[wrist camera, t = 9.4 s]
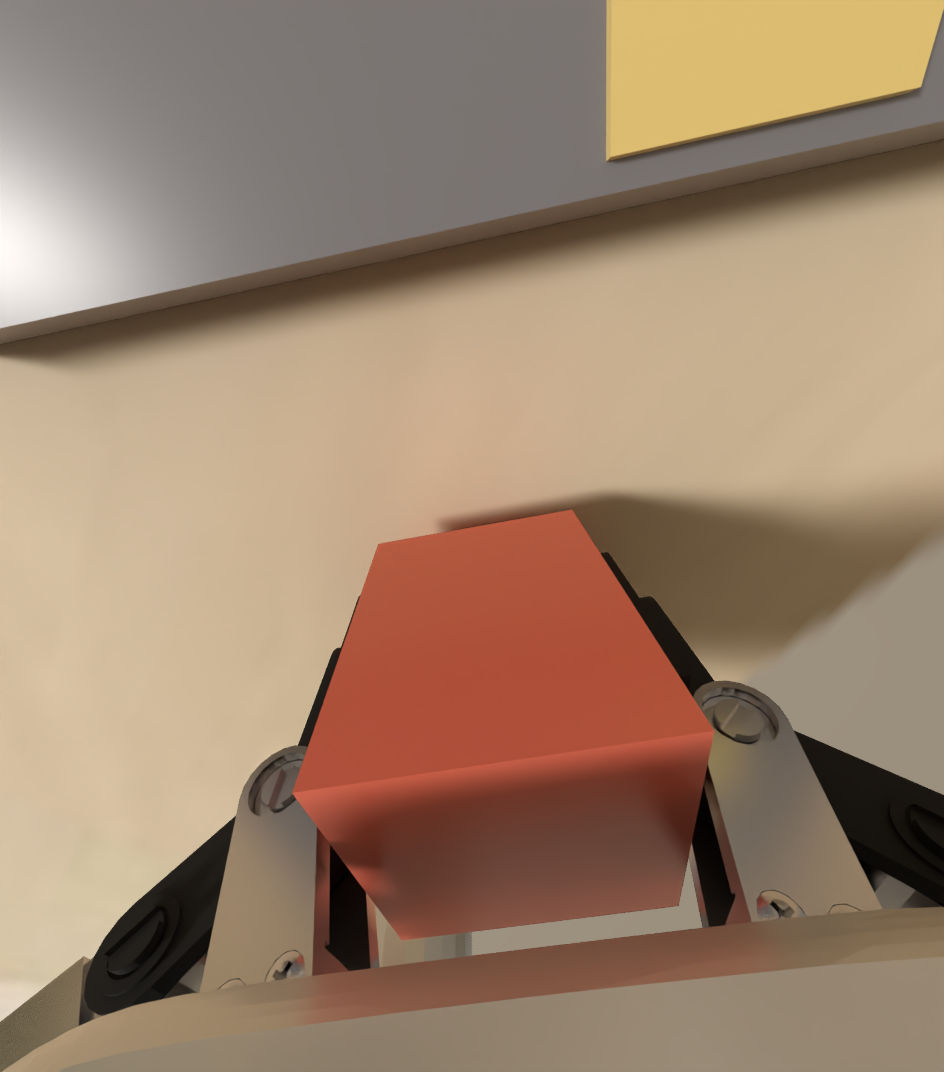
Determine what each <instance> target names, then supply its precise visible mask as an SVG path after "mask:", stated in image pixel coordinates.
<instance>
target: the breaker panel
mask: <svg viewBox="0 0 944 1072" xmlns="http://www.w3.org/2000/svg"><path fill="white" fill-rule="evenodd" d="M943 139H944V0H0V344H4V343H8V342H13V341H18V340H22V339H27V338H31V337H36V336H41V335H45V334H50V333H54V332H59V331H64V330H68V329H73V328H77V327H82V326H87V325H91V324H96V323H100V322H105V321H110V320H114V319H119V318H123V317H128V316H133V315H137V314H142V313H146V312H151V311H156V310H160V309H165V308H169V307H174V306H179V305H183V304H188V303H192V302H197V301H202V300H206V299H211V298H216V297H220V296H225V295H229V294H234V293H239V292H243V291H248V290H252V289H257V288H262V287H266V286H271V285H275V284H280V283H285V282H289V281H294V280H298V279H303V278H308V277H312V276H317V275H321V274H326V273H331V272H335V271H340V270H344V269H349V268H354V267H358V266H363V265H367V264H372V263H377V262H381V261H386V260H390V259H395V258H400V257H404V256H409V255H413V254H418V253H423V252H427V251H432V250H436V249H441V248H446V247H450V246H455V245H459V244H464V243H469V242H473V241H478V240H482V239H487V238H492V237H496V236H501V235H505V234H510V233H515V232H519V231H524V230H528V229H533V228H538V227H542V226H547V225H551V224H556V223H561V222H565V221H570V220H574V219H579V218H584V217H588V216H593V215H597V214H602V213H607V212H611V211H616V210H620V209H625V208H630V207H634V206H639V205H643V204H648V203H653V202H657V201H662V200H667V199H671V198H676V197H680V196H685V195H690V194H694V193H699V192H703V191H708V190H713V189H717V188H722V187H726V186H731V185H736V184H740V183H745V182H749V181H754V180H759V179H763V178H768V177H772V176H777V175H782V174H786V173H791V172H795V171H800V170H805V169H809V168H814V167H818V166H823V165H828V164H832V163H837V162H841V161H846V160H851V159H855V158H860V157H864V156H869V155H874V154H878V153H883V152H887V151H892V150H897V149H901V148H906V147H910V146H915V145H920V144H924V143H929V142H933V141H938V140H943Z"/></svg>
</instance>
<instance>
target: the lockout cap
mask: <svg viewBox="0 0 944 1072" xmlns="http://www.w3.org/2000/svg"><path fill="white" fill-rule="evenodd" d="M713 736H714V729H713V728H712V726H711V725H710V723H709V722H708V720H707V718H706V717H705V715H704V714H703V712H702V711H701V709H700V708H699V706H698V704H697V703H696V701H695V700H694V698H693V697H692V695H691V694H690V692H689V690H688V689H687V687H686V686H685V684H684V683H683V681H682V680H681V678H680V677H679V675H678V673H677V672H676V670H675V669H674V667H673V666H672V664H671V663H670V661H669V659H668V658H667V656H666V655H665V653H664V652H663V650H662V649H661V647H660V645H659V644H658V642H657V641H656V639H655V638H654V636H653V635H652V633H651V631H650V630H649V628H648V627H647V625H646V624H645V622H644V621H643V619H642V617H641V616H640V614H639V613H638V611H637V610H636V608H635V607H634V605H633V603H632V602H631V600H630V599H629V597H628V596H627V594H626V593H625V591H624V589H623V588H622V586H621V585H620V583H619V582H618V580H617V579H616V577H615V575H614V574H613V572H612V571H611V569H610V568H609V566H608V565H607V563H606V561H605V560H604V558H603V557H602V555H601V554H600V552H599V551H598V549H597V547H596V546H595V544H594V543H593V541H592V540H591V538H590V537H589V535H588V533H587V532H586V530H585V529H584V527H583V526H582V524H581V523H580V521H579V519H578V518H577V516H576V515H575V513H574V512H573V510H566V511H561V512H555V513H550V514H544V515H538V516H533V517H527V518H522V519H516V520H510V521H505V522H499V523H493V524H488V525H482V526H477V527H471V528H465V529H460V530H454V531H449V532H443V533H437V534H432V535H426V536H420V537H415V538H409V539H404V540H398V541H392V542H387V543H381V544H378V547H377V549H376V552H375V555H374V558H373V561H372V564H371V567H370V570H369V572H368V575H367V578H366V581H365V584H364V587H363V590H362V593H361V596H360V598H359V601H358V604H357V607H356V610H355V613H354V616H353V619H352V621H351V624H350V627H349V630H348V633H347V636H346V639H345V642H344V645H343V647H342V650H341V653H340V656H339V659H338V662H337V665H336V668H335V670H334V673H333V676H332V679H331V682H330V685H329V688H328V691H327V694H326V696H325V699H324V702H323V705H322V708H321V711H320V714H319V717H318V720H317V722H316V725H315V728H314V731H313V734H312V737H311V740H310V743H309V745H308V748H307V751H306V754H305V757H304V760H303V763H302V766H301V769H300V771H299V774H298V777H297V780H296V783H295V786H294V789H293V792H292V794H293V795H294V796H295V798H296V799H297V800H298V802H299V803H300V804H301V806H302V807H303V808H304V810H305V811H306V812H307V814H308V815H309V816H310V818H311V819H312V820H313V822H314V823H315V825H316V826H317V827H318V829H319V830H320V831H321V833H322V834H323V835H324V837H325V838H326V839H327V841H328V842H329V843H330V845H331V846H332V847H333V849H334V850H335V851H336V853H337V854H338V855H339V857H340V858H341V859H342V861H343V862H344V863H345V865H346V866H347V868H348V869H349V870H350V872H351V873H352V874H353V876H354V877H355V878H356V880H357V881H358V882H359V884H360V885H361V886H362V888H363V889H364V890H365V892H366V893H367V894H368V896H369V897H370V898H371V900H372V901H373V902H374V904H375V905H376V906H377V908H378V909H379V910H380V912H381V913H382V915H383V916H384V917H385V919H386V920H387V921H388V923H389V924H390V925H391V927H392V928H393V929H394V931H395V932H396V933H397V935H398V936H399V937H400V939H401V940H410V939H418V938H426V937H434V936H442V935H450V934H458V933H466V932H474V931H481V930H490V929H498V928H506V927H513V926H522V925H529V924H537V923H546V922H554V921H562V920H569V919H578V918H586V917H593V916H602V915H610V914H617V913H625V912H633V911H642V910H649V909H657V908H665V907H673V906H679V901H680V896H681V891H682V886H683V882H684V876H685V872H686V867H687V862H688V857H689V853H690V848H691V843H692V838H693V833H694V828H695V823H696V818H697V814H698V809H699V804H700V799H701V794H702V789H703V784H704V780H705V775H706V770H707V765H708V760H709V755H710V750H711V745H712V741H713Z"/></svg>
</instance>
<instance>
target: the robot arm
mask: <svg viewBox="0 0 944 1072" xmlns="http://www.w3.org/2000/svg"><path fill="white" fill-rule="evenodd" d="M600 554H601V555H602V557H603V558H604V560H605V561H606V563H607V565H608V566H609V568H610V569H611V571H612V572H613V574H614V575H615V577H616V579H617V580H618V582H619V583H620V585H621V586H622V588H623V589H624V591H625V593H626V594H627V596H628V597H629V599H630V600H631V602H632V603H633V605H634V607H635V608H636V610H637V611H638V613H639V614H640V616H641V617H642V619H643V621H644V622H645V624H646V625H647V627H648V628H649V630H650V631H651V633H652V635H653V636H654V638H655V639H656V641H657V642H658V644H659V645H660V647H661V649H662V650H663V652H664V653H665V655H666V656H667V658H668V659H669V661H670V663H671V664H672V666H673V667H674V669H675V670H676V672H677V673H678V675H679V677H680V678H681V680H682V681H683V683H684V684H685V686H686V687H687V689H688V690H689V692H690V694H691V695H692V697H693V698H694V700H695V701H696V703H697V704H698V706H699V708H700V709H701V711H702V712H703V714H704V715H705V717H706V718H707V720H708V722H709V723H710V725H711V726H712V728H713V729H714V736H713V741H712V745H711V750H710V755H709V760H708V765H707V770H706V775H705V780H704V784H703V789H702V794H701V799H700V804H699V809H698V814H697V818H696V823H695V828H694V833H693V838H692V843H691V848H690V853H689V861H690V866H691V871H692V876H693V881H694V886H695V891H696V896H697V901H698V906H699V912H700V917H701V922H702V927H703V928H698V929H689V930H682V931H672V932H664V933H655V934H647V935H639V936H630V937H621V938H613V939H605V940H597V941H588V942H580V943H572V944H564V945H555V946H547V947H539V948H531V949H523V950H515V951H507V952H499V953H490V954H482V955H474V956H472V935H471V932H466V933H458V934H450V935H442V936H434V937H426V938H418V939H410V940H401V939H400V937H399V936H398V935H397V933H396V932H395V931H394V929H393V928H392V927H391V925H390V924H389V923H388V921H387V920H386V919H385V917H384V916H383V915H382V913H381V912H380V910H379V909H378V908H377V906H376V905H375V904H374V902H373V901H372V900H371V898H370V897H369V896H368V894H367V893H366V892H365V890H364V889H363V888H362V886H361V885H360V884H359V882H358V881H357V880H356V878H355V877H354V876H353V874H352V873H351V872H350V870H349V869H348V868H347V866H346V865H345V863H344V862H343V861H342V859H341V858H340V857H339V855H338V854H337V853H336V851H335V850H334V849H333V847H332V846H331V845H330V843H329V842H328V841H327V839H326V838H325V837H324V835H323V834H322V833H321V831H320V830H319V829H318V827H317V826H316V825H315V823H314V822H313V820H312V819H311V818H310V816H309V815H308V814H307V812H306V811H305V810H304V808H303V807H302V806H301V804H300V803H299V802H298V800H297V799H296V798H295V796H294V795H293V794H292V792H293V789H294V786H295V783H296V780H297V777H298V774H299V771H300V769H301V766H302V763H303V760H304V757H305V754H306V751H307V748H308V745H309V743H310V740H311V737H312V734H313V731H314V728H315V725H316V722H317V720H318V717H319V714H320V711H321V708H322V705H323V702H324V699H325V696H326V694H327V691H328V688H329V685H330V682H331V679H332V676H333V673H334V670H335V668H336V665H337V662H338V659H339V656H340V653H341V650H342V647H343V645H344V642H345V639H346V636H347V633H348V630H349V627H350V624H351V621H352V619H353V616H354V613H355V610H356V607H357V604H358V601H359V598H360V596H361V595H360V596H359V598H358V600H357V603H356V606H355V609H354V612H353V615H352V618H351V620H350V623H349V626H348V629H347V632H346V635H345V638H344V641H343V643H342V646H341V648H336V649H335V650H334V651H333V653H332V655H331V658H330V660H329V663H328V666H327V668H326V671H325V674H324V677H323V679H322V682H321V685H320V687H319V690H318V693H317V695H316V698H315V701H314V704H313V706H312V709H311V712H310V714H309V717H308V720H307V723H306V725H305V728H304V731H303V733H302V736H301V739H300V741H299V744H298V746H292V747H288V748H284V749H282V750H280V751H278V752H276V753H275V754H273V755H271V756H270V757H269V758H268V759H266V760H265V761H264V762H262V763H261V764H260V765H259V767H258V768H257V769H256V770H255V771H254V772H253V773H252V774H251V776H250V778H249V779H248V781H247V783H246V784H245V786H244V788H243V791H242V794H241V797H240V800H239V804H238V809H237V814H236V816H235V817H234V818H233V819H232V820H230V821H229V822H228V823H227V824H226V825H225V826H224V827H222V828H221V829H220V830H219V831H218V832H217V833H216V834H214V835H213V836H212V837H211V838H210V839H209V840H207V841H206V842H205V843H204V844H203V845H202V846H201V847H199V848H198V849H197V850H196V851H195V852H194V853H192V854H191V855H190V856H189V857H188V858H187V859H186V860H184V861H183V862H182V863H181V864H180V865H179V866H177V867H176V868H175V869H174V870H173V871H172V872H171V873H169V874H168V875H167V876H166V877H165V878H164V879H163V880H161V881H160V882H159V883H158V884H157V885H156V886H154V887H153V888H152V889H151V890H150V891H149V892H148V893H146V894H145V895H144V896H143V897H142V898H141V899H139V900H138V901H137V902H136V903H135V904H134V905H133V906H132V907H131V908H130V909H129V910H128V911H127V912H126V913H125V914H124V915H123V916H122V917H121V918H120V919H119V920H118V921H117V923H116V924H115V925H114V927H113V928H112V929H111V931H110V932H109V933H108V934H107V936H106V937H105V939H104V940H103V942H102V944H101V946H100V947H99V949H98V951H97V953H96V954H95V956H94V957H93V958H92V959H91V960H90V959H88V958H86V957H82V958H81V959H80V960H78V961H77V962H76V963H75V964H73V965H72V966H71V967H70V968H68V969H67V970H66V971H64V972H63V973H62V974H61V975H59V976H58V977H57V978H56V979H54V980H53V981H52V982H51V983H49V984H48V985H47V986H45V987H44V988H43V989H42V990H40V991H39V992H38V993H37V994H35V995H34V996H33V997H32V998H30V999H29V1000H28V1001H26V1002H25V1003H24V1004H23V1005H21V1006H20V1007H19V1008H18V1009H16V1010H15V1011H14V1012H13V1013H11V1014H10V1015H9V1016H7V1017H6V1018H5V1019H4V1020H2V1021H1V1022H0V1072H944V795H942V794H940V793H938V792H935V791H933V790H931V789H928V788H926V787H923V786H921V785H919V784H917V783H914V782H912V781H910V780H907V779H905V778H903V777H900V776H898V775H896V774H894V773H891V772H889V771H887V770H884V769H882V768H880V767H877V766H875V765H873V764H870V763H868V762H866V761H863V760H861V759H859V758H857V757H854V756H852V755H850V754H847V753H845V752H843V751H840V750H838V749H836V748H833V747H831V746H829V745H826V744H824V743H822V742H819V741H817V740H815V739H812V738H810V737H808V736H806V735H803V734H801V733H798V732H796V731H794V730H793V728H792V726H791V724H790V723H789V721H788V718H787V717H786V716H785V714H784V713H783V711H782V710H781V708H780V707H779V706H778V705H777V704H776V703H775V702H773V701H772V700H771V699H770V698H769V697H768V696H766V695H765V694H763V693H761V692H759V691H758V690H756V689H754V688H751V687H749V686H746V685H744V684H741V683H736V682H731V681H714V680H713V678H712V677H711V676H710V674H709V673H708V672H707V670H706V669H705V667H704V666H703V665H702V663H701V662H700V661H699V659H698V658H697V656H696V655H695V654H694V652H693V651H692V650H691V648H690V647H689V646H688V644H687V643H686V641H685V640H684V639H683V637H682V636H681V635H680V633H679V632H678V631H677V629H676V628H675V626H674V625H673V624H672V622H671V621H670V620H669V618H668V617H667V615H666V614H665V613H664V611H663V610H662V609H661V607H660V606H659V605H658V603H657V602H656V601H655V600H654V599H653V598H652V597H650V596H649V597H643V598H639V597H638V595H637V594H636V592H635V591H634V589H633V588H632V586H631V585H630V584H629V582H628V581H627V579H626V578H625V576H624V575H623V573H622V572H621V570H620V569H619V567H618V566H617V564H616V563H615V561H614V560H613V558H612V557H611V556H610V554H609V553H607V552H606V553H600Z"/></svg>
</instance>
